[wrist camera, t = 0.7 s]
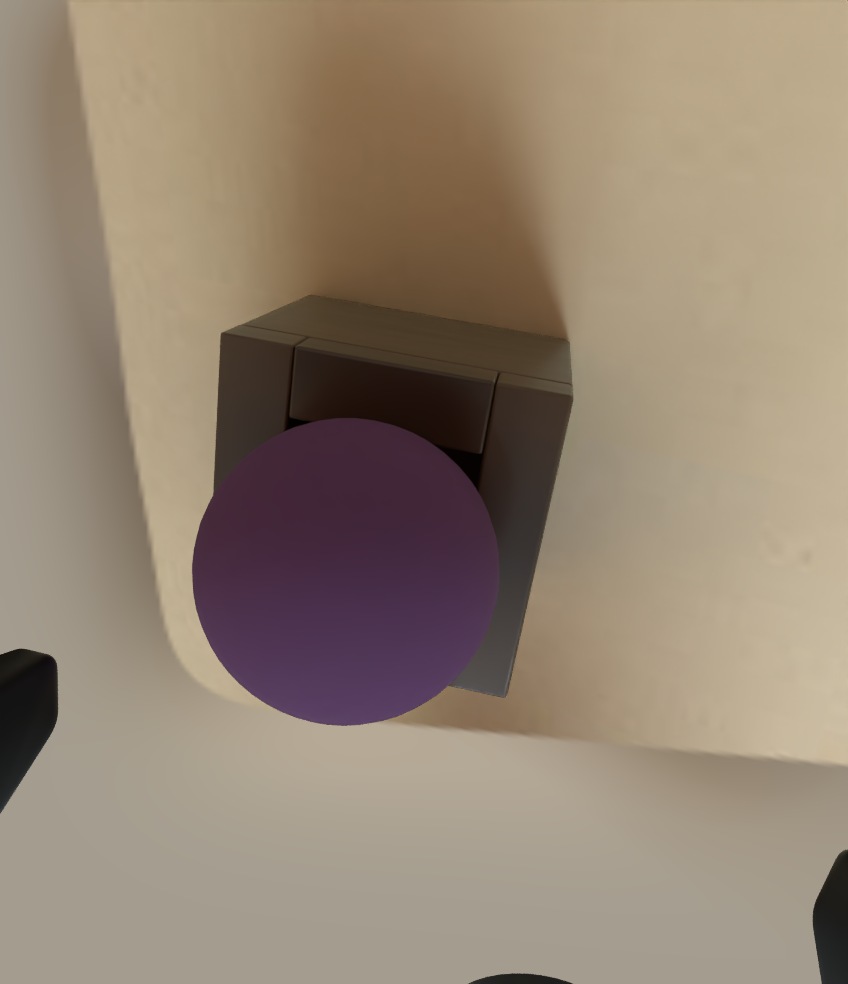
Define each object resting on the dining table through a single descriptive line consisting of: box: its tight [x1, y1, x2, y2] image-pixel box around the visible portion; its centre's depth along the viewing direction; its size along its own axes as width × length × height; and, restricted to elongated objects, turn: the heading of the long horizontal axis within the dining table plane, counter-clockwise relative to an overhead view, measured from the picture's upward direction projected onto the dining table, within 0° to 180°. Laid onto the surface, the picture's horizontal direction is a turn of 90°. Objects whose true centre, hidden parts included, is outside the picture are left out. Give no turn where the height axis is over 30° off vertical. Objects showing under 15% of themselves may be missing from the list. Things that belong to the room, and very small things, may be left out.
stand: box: [213, 295, 573, 698], centre depth 19 cm, size 7×7×6 cm
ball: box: [192, 418, 499, 726], centre depth 15 cm, size 6×6×6 cm
